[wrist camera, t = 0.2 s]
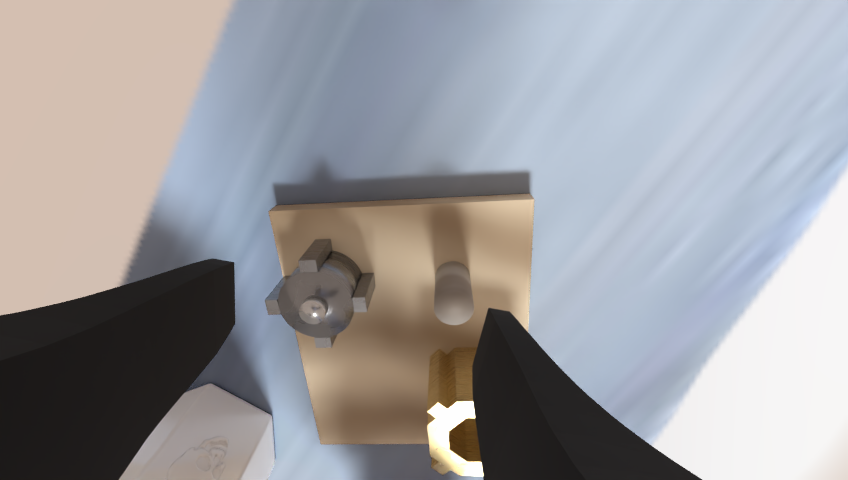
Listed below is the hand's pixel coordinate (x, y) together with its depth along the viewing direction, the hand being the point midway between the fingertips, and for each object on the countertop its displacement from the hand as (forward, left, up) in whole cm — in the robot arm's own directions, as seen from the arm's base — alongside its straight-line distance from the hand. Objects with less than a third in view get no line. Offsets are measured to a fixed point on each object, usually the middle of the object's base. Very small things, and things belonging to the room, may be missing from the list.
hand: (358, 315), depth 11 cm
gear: (-3, +4, -9) cm, 10 cm away
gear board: (-7, 0, -10) cm, 12 cm away
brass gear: (-10, -4, -9) cm, 14 cm away
